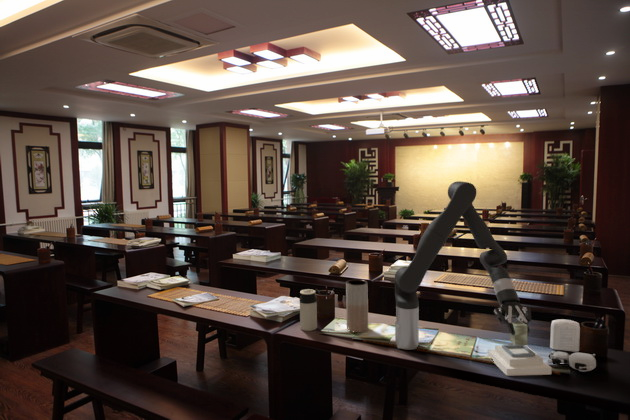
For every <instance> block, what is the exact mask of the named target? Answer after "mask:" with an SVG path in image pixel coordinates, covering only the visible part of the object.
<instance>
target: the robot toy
mask: <svg viewBox="0 0 630 420" xmlns="http://www.w3.org/2000/svg"><path fill="white" fill-rule="evenodd" d="M595 356H596V354H595V353H593V354H590V353H585V352H579V351H578V352H573V353H571V354H570V353H568V352H566V351H565V352H564V351H561V350H551V353H549V355H548V358H549V359H547V360H546V363H547V364H552V363H553V364H552V365H557V364H560V363H564V364H568V365H569V367H571V368H572V369H574V370H576V371H577V370H578V371H579V372H582V373H585V372H590V371H592V370H594V369H595V368H596V367H597V360H596V358H595Z"/></svg>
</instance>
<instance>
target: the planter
mask: <svg viewBox="0 0 630 420" xmlns="http://www.w3.org/2000/svg"><path fill="white" fill-rule="evenodd" d="M368 286H369V285H368V281H367V280H365V279H357V278H355V279H349V280H346V281H345V298H346V299H345V302H346V304H345V305H346V307H345V308H346V330H347V329H348V330H350V331H354V332H362V333H366V332H367V331H369V305H368V304H369V302H368V301H369V300H368V298H369V297H368V295H369V293H368V292H369V291H368ZM348 330H347V331H348ZM350 331H349V332H350ZM354 332H353V333H354Z"/></svg>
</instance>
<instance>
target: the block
mask: <svg viewBox="0 0 630 420" xmlns="http://www.w3.org/2000/svg"><path fill="white" fill-rule="evenodd" d="M511 323H512V324H513V327H514V330H515V334H514V335H511V333H510V332H509V342H510V343H512V345H527V346H528V335H527V325H526V324H525V323H523V322H522V321H511Z"/></svg>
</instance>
